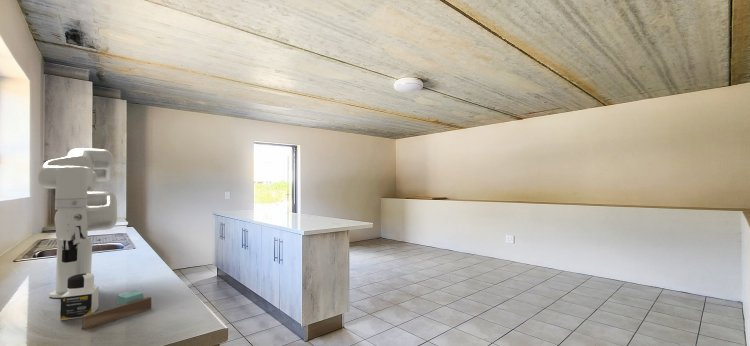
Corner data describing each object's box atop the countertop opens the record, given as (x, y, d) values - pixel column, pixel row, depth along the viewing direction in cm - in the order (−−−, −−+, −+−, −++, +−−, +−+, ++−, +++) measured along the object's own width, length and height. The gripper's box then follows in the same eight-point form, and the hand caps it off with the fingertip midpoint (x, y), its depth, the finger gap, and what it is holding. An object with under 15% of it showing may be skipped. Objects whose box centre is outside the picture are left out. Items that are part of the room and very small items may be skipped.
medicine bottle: (59, 321, 94) (61, 279, 94) (68, 312, 100) (70, 273, 101) (91, 316, 97) (92, 276, 98) (98, 308, 103) (99, 270, 104)
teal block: (116, 311, 101) (117, 295, 101) (134, 305, 106) (134, 290, 106) (125, 314, 99) (125, 297, 99) (143, 308, 103) (143, 292, 104)
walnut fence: (81, 328, 89) (81, 315, 89) (147, 307, 104) (148, 296, 104) (84, 329, 88) (84, 317, 88) (151, 308, 103) (151, 297, 103)
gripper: (97, 204, 104) (95, 261, 103) (75, 203, 110) (73, 256, 110) (66, 205, 97) (64, 267, 96) (45, 204, 104) (43, 261, 103)
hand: (69, 261), depth 103 cm, fingers closed
